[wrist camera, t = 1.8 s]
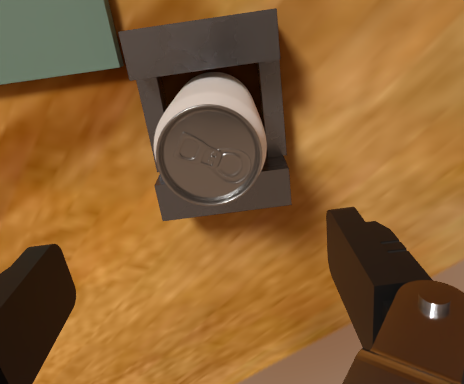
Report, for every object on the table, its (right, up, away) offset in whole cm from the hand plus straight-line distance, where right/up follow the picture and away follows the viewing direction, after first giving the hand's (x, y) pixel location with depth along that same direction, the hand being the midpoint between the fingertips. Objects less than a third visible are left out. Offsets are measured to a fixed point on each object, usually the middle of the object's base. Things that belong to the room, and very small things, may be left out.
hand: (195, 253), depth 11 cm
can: (0, +8, +20) cm, 21 cm away
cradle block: (0, +8, +19) cm, 21 cm away
